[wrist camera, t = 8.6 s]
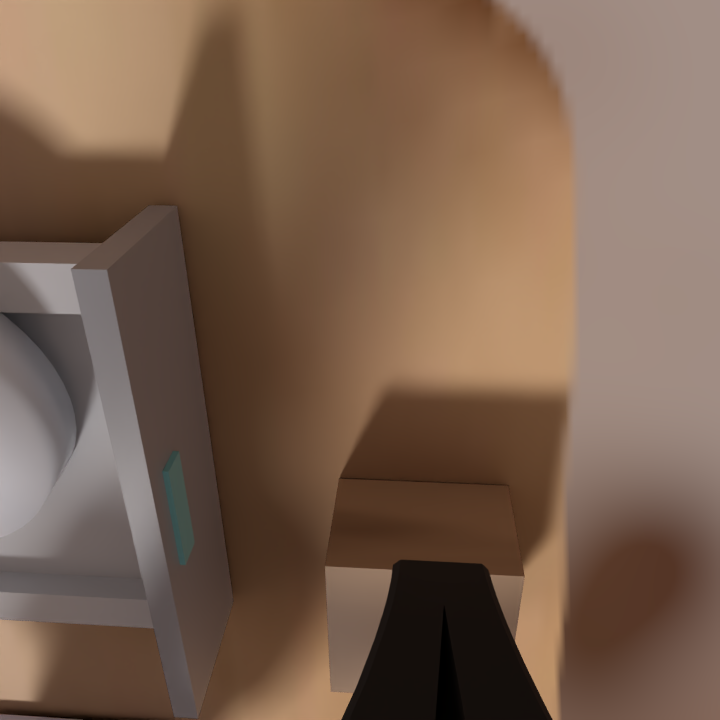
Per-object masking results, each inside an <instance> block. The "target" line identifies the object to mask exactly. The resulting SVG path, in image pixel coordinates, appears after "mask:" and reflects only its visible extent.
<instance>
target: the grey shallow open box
mask: <svg viewBox="0 0 720 720" xmlns="http://www.w3.org/2000/svg"><path fill="white" fill-rule="evenodd" d="M0 313H2V314H3V315H4V316H6V317H7V318H8V319H10V320H11V321H12V322H13V323H14V324H15V325H16V326H18V327H19V328H20V329H21V330H22V331H23V332H24V333H25V334H26V335H27V336H28V337H29V338H30V339H31V340H32V341H33V342H34V343H35V344H36V345H37V346H38V347H39V348H40V349H41V351H42V352H43V353H44V355H45V356H46V357H47V359H48V360H49V361H50V362H51V364H52V365H53V366H54V368H55V370H56V371H57V373H58V375H59V376H60V378H61V380H62V381H63V383H64V385H65V388H66V390H67V392H68V394H69V397H70V399H71V403H72V406H73V410H74V413H75V421H76V442H75V446H74V450H73V453H72V456H71V458H70V460H69V462H68V464H67V466H66V467H65V469H64V471H63V472H62V474H61V476H60V477H59V479H58V481H57V482H56V484H55V486H54V487H53V489H52V491H51V492H50V494H49V496H48V497H47V499H46V501H45V502H44V504H43V506H42V507H41V509H40V510H39V512H38V513H37V514H36V515H35V517H34V518H33V519H32V520H31V521H30V522H28V523H27V524H26V525H25V526H23V527H22V528H20V529H18V530H17V531H15V532H13V533H11V534H9V535H6V536H3V537H0V619H2V620H19V621H36V622H53V623H70V624H87V625H104V626H121V627H138V628H154V632H155V636H156V641H157V645H158V649H159V654H160V658H161V662H162V667H163V671H164V675H165V680H166V684H167V688H168V693H169V697H170V701H171V706H172V710H173V714H174V717H180V718H195V719H198V718H199V714H200V711H201V708H202V704H203V701H204V698H205V695H206V691H207V688H208V685H209V681H210V678H211V675H212V671H213V668H214V665H215V661H216V658H217V655H218V651H219V648H220V645H221V641H222V638H223V635H224V631H225V628H226V625H227V621H228V618H229V615H230V611H231V608H232V605H233V602H234V601H233V594H232V587H231V580H230V573H229V566H228V559H227V552H226V545H225V538H224V531H223V524H222V517H221V510H220V503H219V496H218V489H217V482H216V475H215V468H214V461H213V454H212V447H211V440H210V433H209V426H208V419H207V412H206V405H205V398H204V391H203V384H202V377H201V370H200V363H199V356H198V349H197V342H196V335H195V328H194V320H193V313H192V306H191V299H190V292H189V285H188V278H187V271H186V264H185V257H184V250H183V243H182V236H181V229H180V222H179V215H178V208H177V206H164V205H149V206H147V207H146V208H145V209H144V210H142V211H141V212H140V213H139V214H138V215H136V216H135V217H134V218H133V219H131V220H130V221H129V222H128V223H127V224H125V225H124V226H123V227H122V228H120V229H119V230H118V231H117V232H115V233H114V234H113V235H112V236H111V237H109V238H108V239H107V240H106V241H104V242H103V243H64V242H6V241H0Z"/></svg>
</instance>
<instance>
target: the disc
mask: <svg viewBox="0 0 720 720" xmlns="http://www.w3.org/2000/svg"><path fill="white" fill-rule="evenodd" d="M75 442H76V421H75V413H74V410H73V406H72V403H71V399H70V397H69V394H68V392H67V390H66V388H65V385H64V383H63V381H62V380H61V378H60V376H59V375H58V373H57V371H56V370H55V368H54V366H53V365H52V364H51V362H50V361H49V360H48V359H47V357H46V356H45V355H44V353H43V352H42V351H41V349H40V348H39V347H38V346H37V345H36V344H35V343H34V342H33V341H32V340H31V339H30V338H29V337H28V336H27V335H26V334H25V333H24V332H23V331H22V330H21V329H20V328H19V327H18V326H16V325H15V324H14V323H13V322H12V321H11V320H10V319H8V318H7V317H6V316H4V315H3V314H2V313H0V537H3V536H6V535H9V534H11V533H13V532H15V531H17V530H18V529H20V528H22V527H23V526H25V525H26V524H27V523H28V522H30V521H31V520H32V519H33V518H34V517H35V515H36V514H37V513H38V512H39V510H40V509H41V507H42V506H43V504H44V502H45V501H46V499H47V497H48V496H49V494H50V492H51V491H52V489H53V487H54V486H55V484H56V482H57V481H58V479H59V477H60V476H61V474H62V472H63V471H64V469H65V467H66V466H67V464H68V462H69V460H70V458H71V456H72V453H73V450H74V446H75Z"/></svg>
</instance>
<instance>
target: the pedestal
mask: <svg viewBox="0 0 720 720" xmlns="http://www.w3.org/2000/svg"><path fill="white" fill-rule="evenodd" d="M399 560H420V561H440V562H460V563H479V564H483V565H484V566H485V567H486V568H487V569H488V570H489V573H490V577H491V580H492V583H493V586H494V589H495V592H496V595H497V598H498V601H499V604H500V606H501V609H502V612H503V614H504V617H505V619H506V622H507V624H508V627H509V629H510V631H511V634H512V636H513V638H514V641H515V636H516V630H517V623H518V616H519V610H520V603H521V597H522V590H523V583H524V577H525V576H524V571H523V565H522V559H521V554H520V548H519V543H518V537H517V531H516V526H515V520H514V514H513V509H512V503H511V498H510V492H509V486H506V485H482V484H458V483H434V482H410V481H386V480H362V479H339V483H338V489H337V495H336V501H335V508H334V514H333V520H332V526H331V532H330V538H329V545H328V551H327V557H326V563H325V577H326V599H327V620H328V641H329V662H330V683H331V692H346V693H354V691H355V688H356V686H357V684H358V681H359V678H360V676H361V673H362V671H363V668H364V665H365V663H366V660H367V658H368V655H369V652H370V650H371V647H372V644H373V642H374V639H375V636H376V633H377V630H378V627H379V624H380V621H381V617H382V614H383V611H384V607H385V604H386V600H387V596H388V592H389V587H390V582H391V576H392V568H393V564H395V563H396V562H398V561H399Z"/></svg>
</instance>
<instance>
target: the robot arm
mask: <svg viewBox="0 0 720 720" xmlns="http://www.w3.org/2000/svg"><path fill="white" fill-rule="evenodd" d="M0 720H81V719H66V718H52V717H37V716H23V715H8V714H0ZM342 720H552V718H551V716H550V714H549V712H548V710H547V708H546V706H545V704H544V702H543V700H542V698H541V696H540V694H539V692H538V690H537V688H536V686H535V684H534V682H533V680H532V678H531V676H530V674H529V672H528V669H527V667H526V665H525V663H524V661H523V659H522V657H521V654H520V652H519V650H518V648H517V645H516V643H515V641H514V638H513V636H512V634H511V631H510V629H509V627H508V624H507V622H506V619H505V617H504V614H503V612H502V609H501V606H500V604H499V601H498V598H497V595H496V592H495V589H494V586H493V583H492V580H491V577H490V573H489V570H488V569H487V568H486V567H485V566H484V565H483V564H479V563H460V562H440V561H420V560H399V561H398V562H396V563H395V564H393V568H392V576H391V582H390V587H389V592H388V596H387V600H386V604H385V607H384V611H383V614H382V617H381V621H380V624H379V627H378V630H377V633H376V636H375V639H374V642H373V644H372V647H371V650H370V652H369V655H368V658H367V660H366V663H365V665H364V668H363V671H362V673H361V676H360V678H359V681H358V684H357V686H356V688H355V691H354V693H353V696H352V698H351V700H350V702H349V704H348V707H347V709H346V711H345V713H344V715H343V717H342Z"/></svg>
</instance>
